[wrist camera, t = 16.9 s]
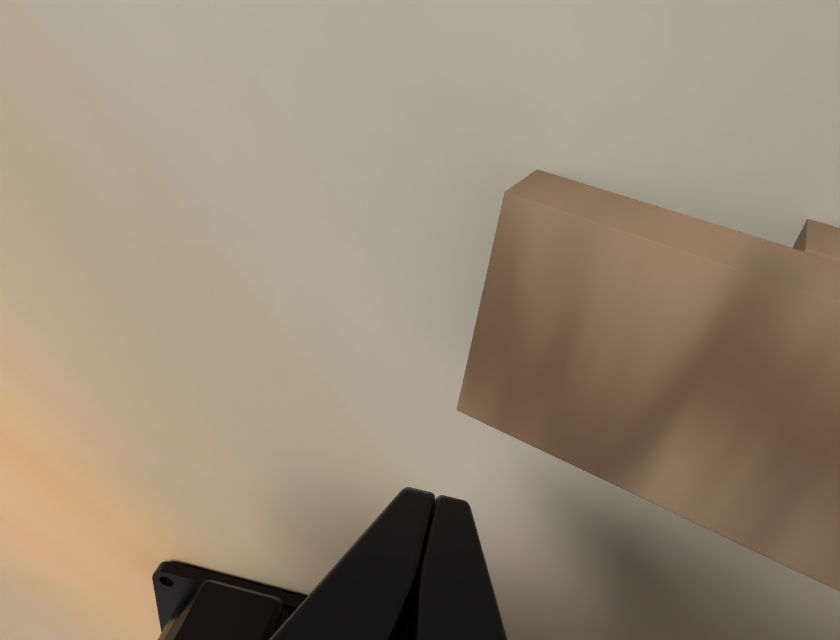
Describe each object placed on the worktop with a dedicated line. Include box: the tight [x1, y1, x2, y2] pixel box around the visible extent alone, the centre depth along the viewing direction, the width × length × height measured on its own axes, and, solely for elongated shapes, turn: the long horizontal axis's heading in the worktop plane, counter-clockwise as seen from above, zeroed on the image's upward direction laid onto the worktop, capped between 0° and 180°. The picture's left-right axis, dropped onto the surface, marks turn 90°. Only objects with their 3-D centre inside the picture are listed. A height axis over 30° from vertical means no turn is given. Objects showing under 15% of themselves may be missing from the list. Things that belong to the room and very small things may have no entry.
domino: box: [457, 170, 840, 591], centre depth 11 cm, size 5×2×8 cm
